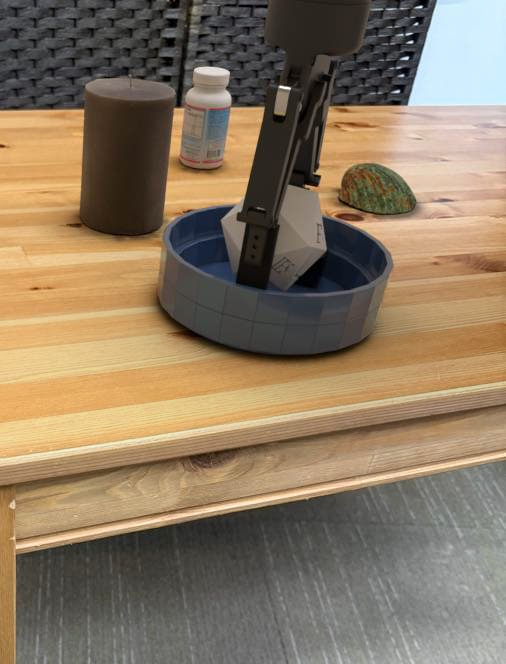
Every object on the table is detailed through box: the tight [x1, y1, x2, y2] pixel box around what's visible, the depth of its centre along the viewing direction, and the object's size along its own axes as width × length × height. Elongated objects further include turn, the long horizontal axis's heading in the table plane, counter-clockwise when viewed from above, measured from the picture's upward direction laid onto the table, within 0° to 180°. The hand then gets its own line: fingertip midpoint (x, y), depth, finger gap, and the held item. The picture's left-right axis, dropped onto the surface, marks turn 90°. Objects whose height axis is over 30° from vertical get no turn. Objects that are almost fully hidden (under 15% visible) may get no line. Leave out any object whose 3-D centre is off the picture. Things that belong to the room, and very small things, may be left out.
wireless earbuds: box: [294, 249, 329, 287], centre depth 82 cm, size 5×7×3 cm, turn 62°
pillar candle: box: [79, 74, 176, 236], centre depth 89 cm, size 10×10×15 cm
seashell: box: [338, 162, 417, 215], centre depth 103 cm, size 10×4×10 cm
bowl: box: [156, 203, 395, 356], centre depth 78 cm, size 21×21×6 cm
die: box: [221, 185, 327, 292], centre depth 73 cm, size 8×9×10 cm
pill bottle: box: [179, 66, 232, 170], centre depth 108 cm, size 6×6×11 cm
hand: (265, 275), depth 75 cm, fingers closed on die, 10 cm apart
